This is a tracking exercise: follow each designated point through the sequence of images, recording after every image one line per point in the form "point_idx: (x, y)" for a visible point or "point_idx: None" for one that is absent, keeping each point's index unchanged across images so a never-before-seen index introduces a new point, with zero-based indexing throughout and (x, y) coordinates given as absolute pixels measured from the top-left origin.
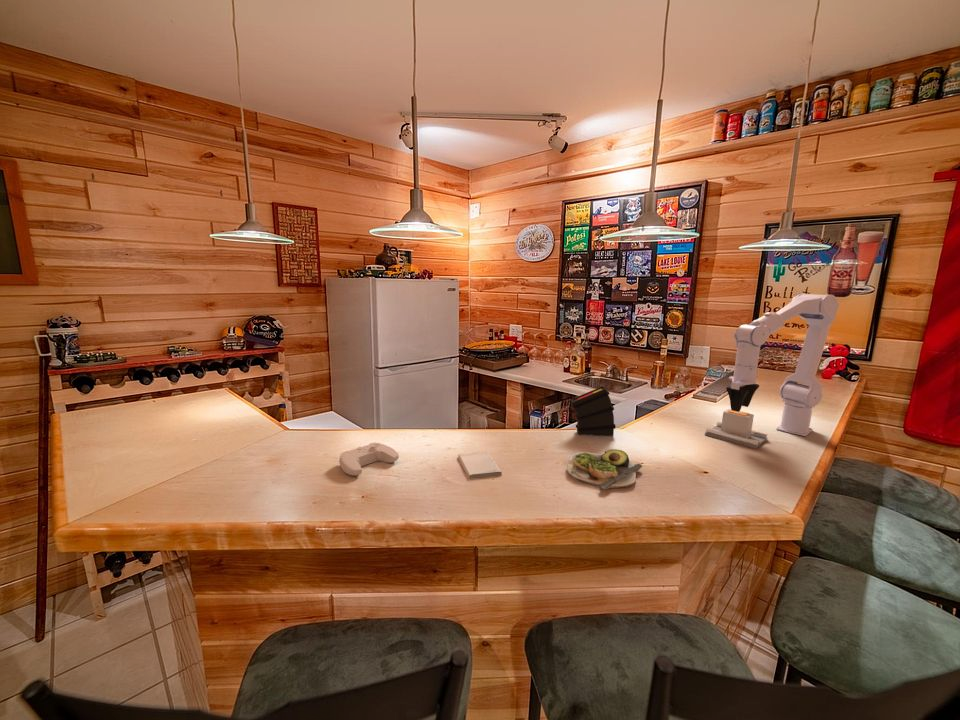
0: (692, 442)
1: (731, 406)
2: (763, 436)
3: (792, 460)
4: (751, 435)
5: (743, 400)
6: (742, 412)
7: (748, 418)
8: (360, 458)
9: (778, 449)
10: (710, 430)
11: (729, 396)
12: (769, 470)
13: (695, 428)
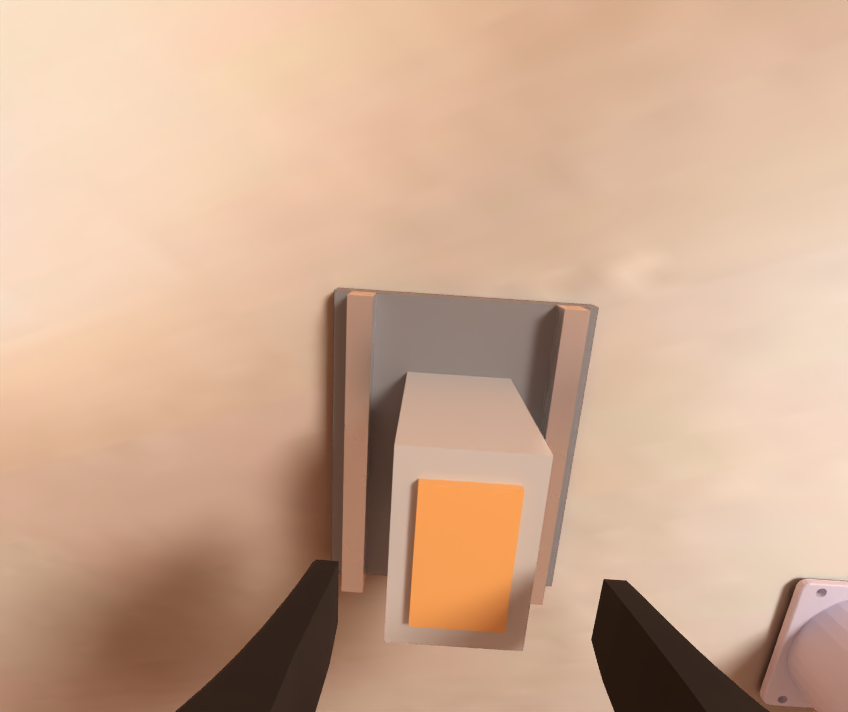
0: (121, 277)
1: (297, 591)
2: None
3: None
4: None
5: (629, 660)
6: (484, 587)
7: (386, 632)
8: None
9: None
10: (348, 324)
11: (189, 702)
12: (99, 649)
13: (432, 187)
